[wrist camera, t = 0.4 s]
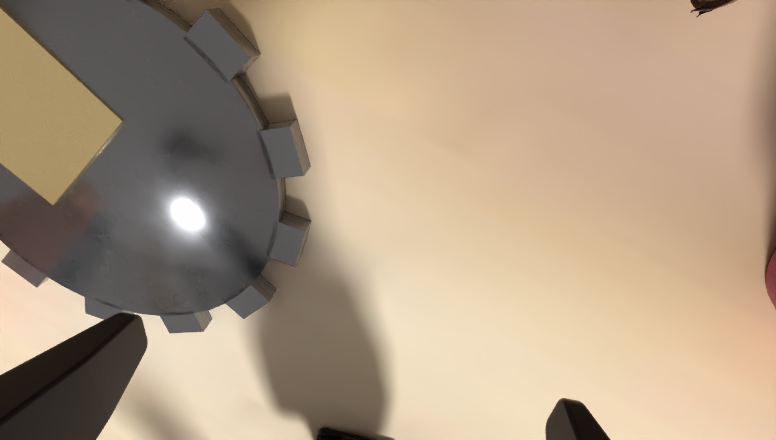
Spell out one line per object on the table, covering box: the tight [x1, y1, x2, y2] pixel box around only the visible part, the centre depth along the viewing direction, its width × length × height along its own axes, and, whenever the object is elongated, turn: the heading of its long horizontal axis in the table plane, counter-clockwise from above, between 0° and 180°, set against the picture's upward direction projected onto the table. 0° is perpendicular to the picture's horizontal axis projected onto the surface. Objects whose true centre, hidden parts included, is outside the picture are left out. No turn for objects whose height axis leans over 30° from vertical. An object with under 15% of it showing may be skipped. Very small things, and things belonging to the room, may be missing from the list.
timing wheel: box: [0, 0, 311, 333], centre depth 24 cm, size 23×23×1 cm
